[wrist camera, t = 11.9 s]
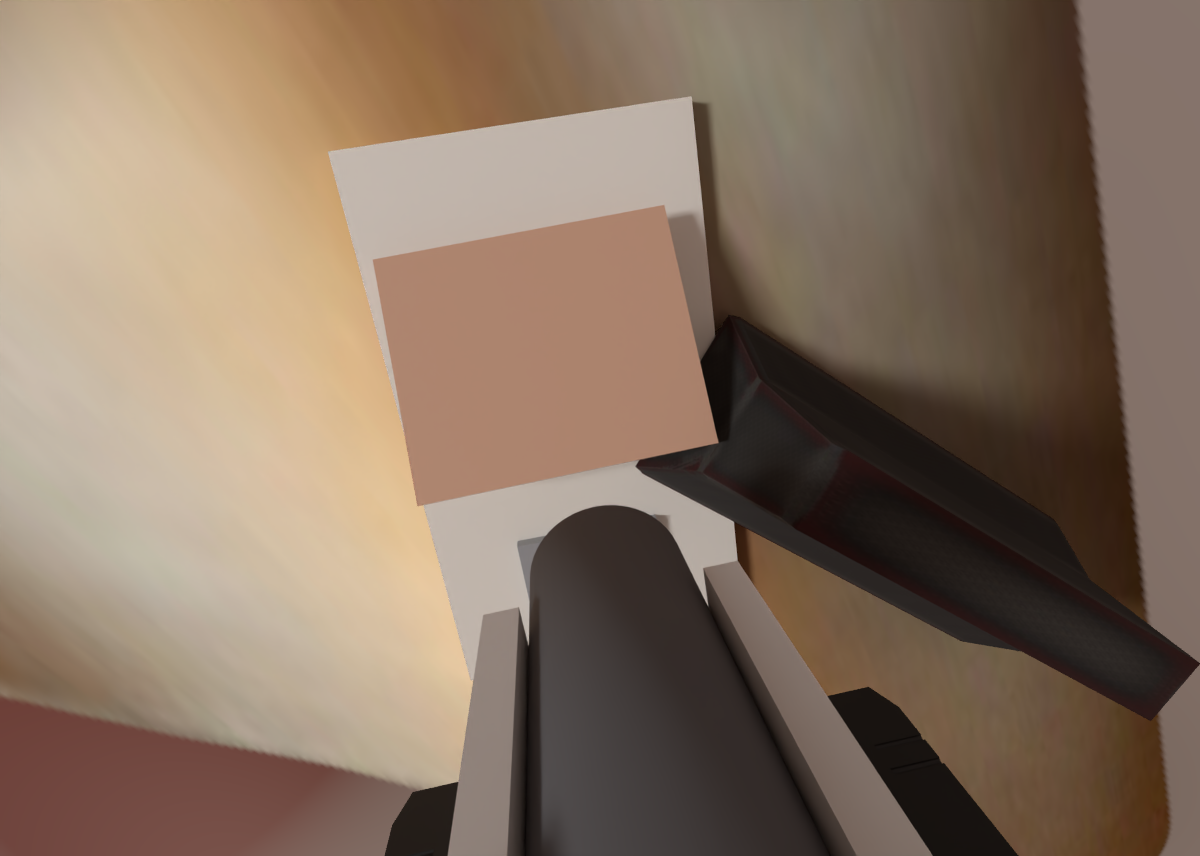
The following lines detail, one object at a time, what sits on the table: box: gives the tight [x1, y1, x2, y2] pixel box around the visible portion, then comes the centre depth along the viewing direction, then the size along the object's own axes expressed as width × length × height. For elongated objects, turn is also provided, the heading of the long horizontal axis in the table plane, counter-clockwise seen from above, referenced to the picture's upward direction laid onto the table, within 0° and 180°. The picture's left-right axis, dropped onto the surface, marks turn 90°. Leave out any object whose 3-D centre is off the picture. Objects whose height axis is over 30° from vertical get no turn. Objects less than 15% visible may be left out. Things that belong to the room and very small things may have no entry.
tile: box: [373, 205, 718, 506], centre depth 24 cm, size 12×2×10 cm
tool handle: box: [525, 505, 831, 856], centre depth 10 cm, size 4×4×12 cm
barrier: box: [635, 315, 1200, 721], centre depth 26 cm, size 24×9×10 cm, turn 59°
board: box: [328, 96, 738, 680], centre depth 28 cm, size 15×26×1 cm, turn 9°
